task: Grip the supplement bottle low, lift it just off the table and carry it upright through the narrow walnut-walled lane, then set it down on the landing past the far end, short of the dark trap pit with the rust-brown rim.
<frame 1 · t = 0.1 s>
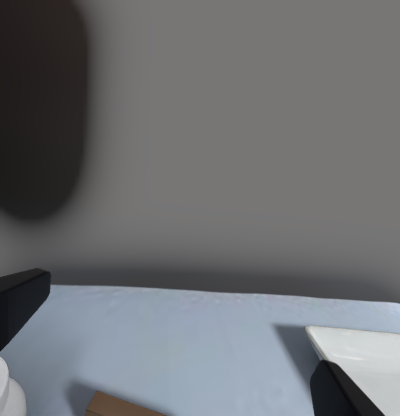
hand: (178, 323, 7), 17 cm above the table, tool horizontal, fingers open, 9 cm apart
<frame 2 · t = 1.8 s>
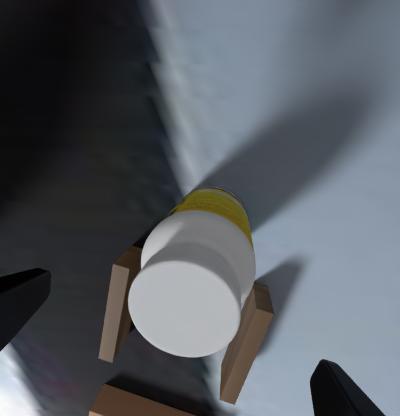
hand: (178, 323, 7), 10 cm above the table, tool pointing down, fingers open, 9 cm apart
supplement bottle: (211, 219, 17), on the table
walled lane: (185, 309, 19), on the table
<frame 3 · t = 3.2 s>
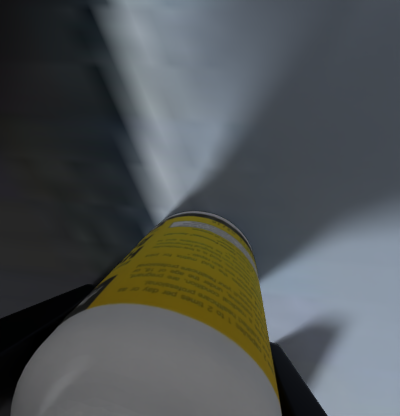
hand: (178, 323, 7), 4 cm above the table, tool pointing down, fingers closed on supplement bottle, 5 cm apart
supplement bottle: (198, 259, 11), on the table, touching gripper
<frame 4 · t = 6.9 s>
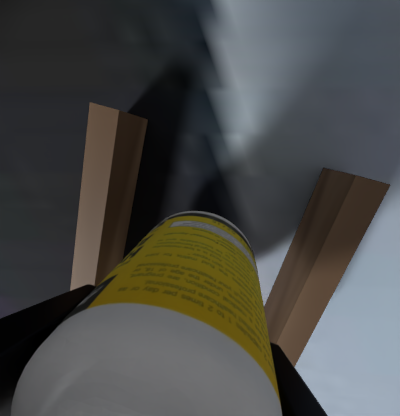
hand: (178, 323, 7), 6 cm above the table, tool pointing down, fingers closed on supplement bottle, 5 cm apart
supplement bottle: (198, 258, 11), point 2 cm above the table, touching gripper
walled lane: (209, 224, 12), on the table
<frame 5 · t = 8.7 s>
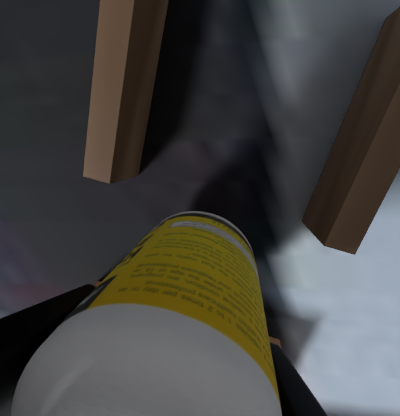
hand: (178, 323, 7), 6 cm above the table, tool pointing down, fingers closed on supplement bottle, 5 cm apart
supplement bottle: (198, 259, 11), point 2 cm above the table, touching gripper
walled lane: (243, 108, 11), on the table
when the fingers open (4 cm above the table, at t = 10.4 s): supplement bottle stays where it is, on the table.
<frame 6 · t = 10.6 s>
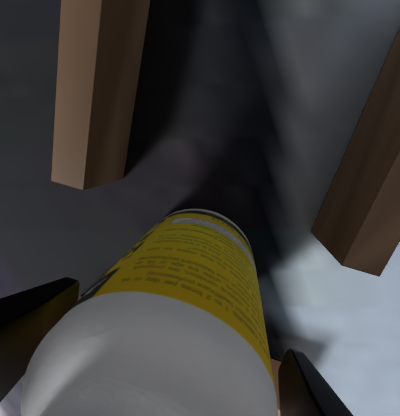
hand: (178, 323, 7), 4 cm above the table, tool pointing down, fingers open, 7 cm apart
supplement bottle: (198, 255, 11), on the table
walled lane: (243, 100, 9), on the table
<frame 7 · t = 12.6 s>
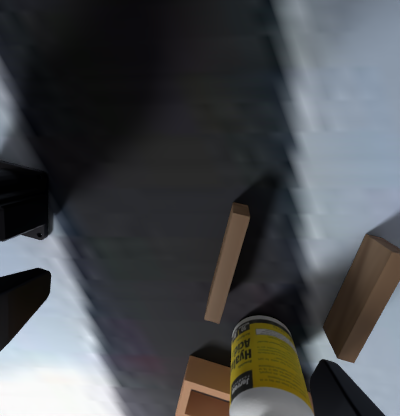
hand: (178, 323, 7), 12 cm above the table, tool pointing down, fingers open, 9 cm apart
trap pit: (241, 391, 23), on the table
supplement bottle: (260, 335, 21), on the table
walled lane: (287, 269, 19), on the table
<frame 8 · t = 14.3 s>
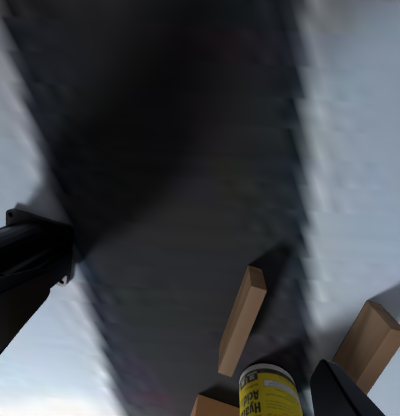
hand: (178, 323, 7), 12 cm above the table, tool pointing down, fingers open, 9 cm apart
supplement bottle: (265, 379, 23), on the table
walled lane: (293, 325, 20), on the table
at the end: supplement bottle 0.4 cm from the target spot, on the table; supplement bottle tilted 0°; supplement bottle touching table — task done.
